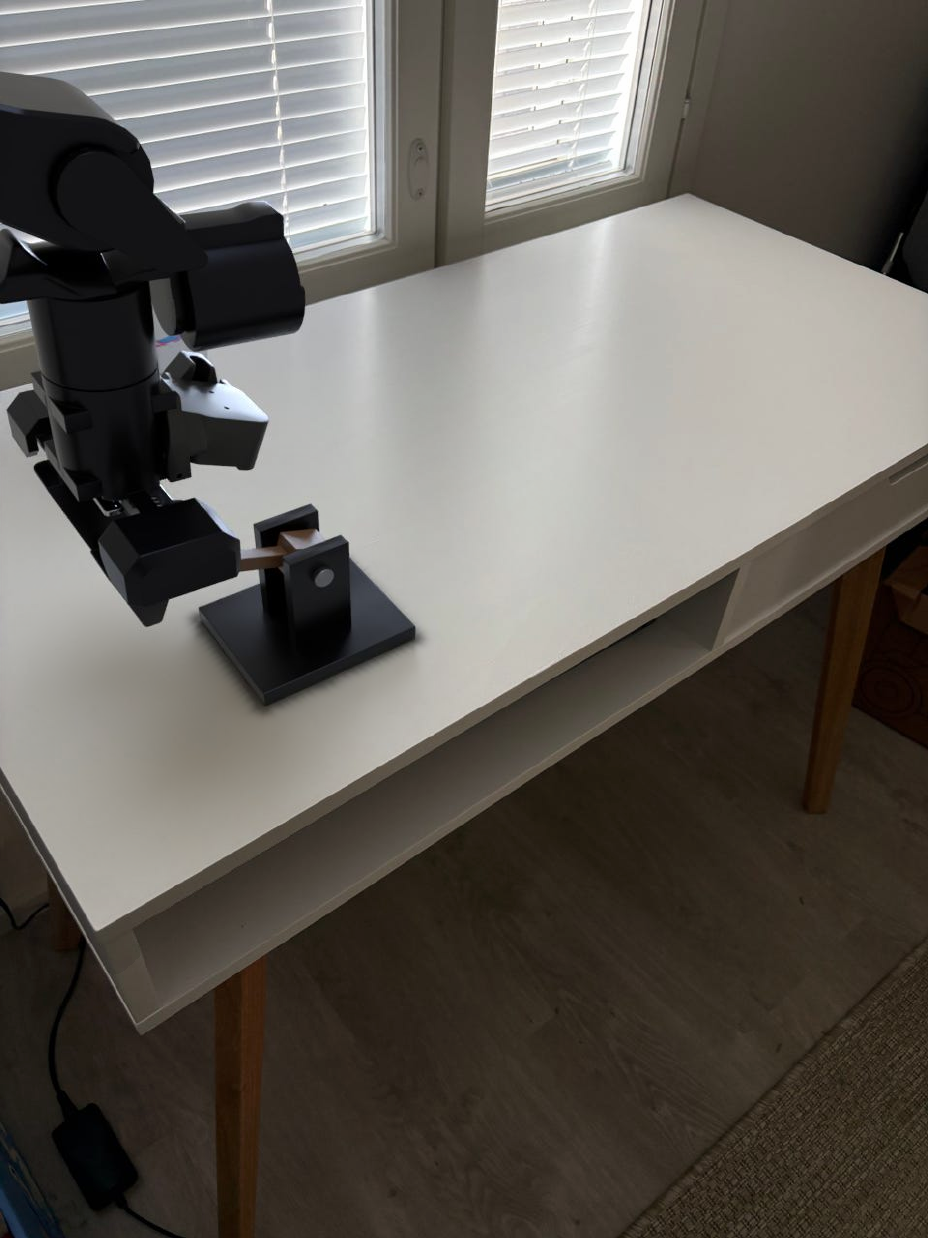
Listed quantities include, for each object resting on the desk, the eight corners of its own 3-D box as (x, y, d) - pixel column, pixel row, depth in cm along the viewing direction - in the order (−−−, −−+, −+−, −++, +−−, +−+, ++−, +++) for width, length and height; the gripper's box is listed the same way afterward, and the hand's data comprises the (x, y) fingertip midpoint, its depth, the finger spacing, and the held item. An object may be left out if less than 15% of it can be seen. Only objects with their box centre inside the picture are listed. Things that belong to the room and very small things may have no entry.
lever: (125, 616, 59) (129, 582, 57) (92, 569, 62) (96, 535, 60) (334, 586, 68) (342, 557, 67) (298, 546, 71) (305, 517, 69)
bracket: (265, 706, 67) (253, 609, 61) (200, 619, 73) (183, 522, 67) (415, 638, 72) (418, 543, 66) (344, 562, 78) (340, 467, 72)
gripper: (331, 413, 50) (327, 644, 60) (173, 268, 60) (193, 485, 71) (110, 470, 44) (148, 713, 55) (-21, 300, 55) (31, 530, 65)
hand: (135, 597), depth 61 cm, fingers closed on lever, 5 cm apart
